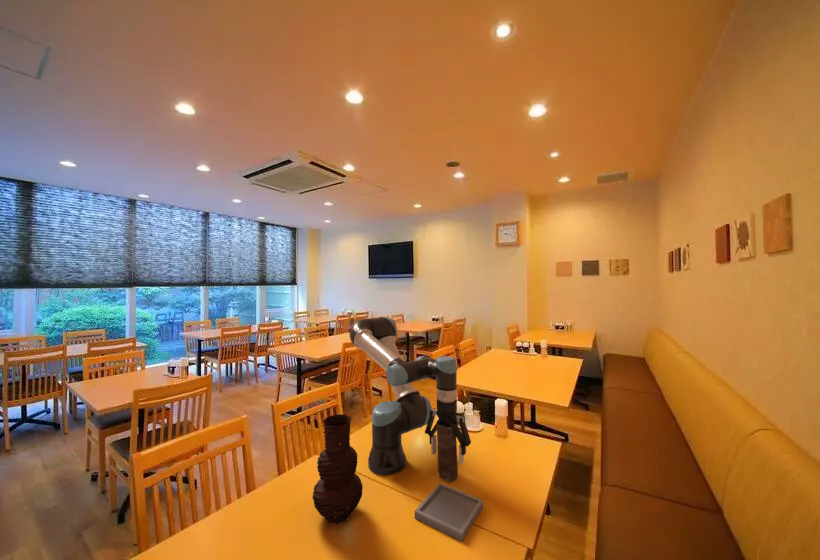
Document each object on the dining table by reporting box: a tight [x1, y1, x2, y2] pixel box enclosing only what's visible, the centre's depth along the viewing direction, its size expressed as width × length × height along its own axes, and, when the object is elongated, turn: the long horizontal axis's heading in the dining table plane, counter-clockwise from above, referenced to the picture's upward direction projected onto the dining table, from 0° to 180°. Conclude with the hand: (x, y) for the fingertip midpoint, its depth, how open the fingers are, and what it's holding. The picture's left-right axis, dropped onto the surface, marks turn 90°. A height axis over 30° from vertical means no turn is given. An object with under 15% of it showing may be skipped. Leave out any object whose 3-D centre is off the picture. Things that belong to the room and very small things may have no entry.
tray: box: [414, 482, 484, 542], centre depth 100 cm, size 16×16×2 cm
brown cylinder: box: [436, 423, 459, 483], centre depth 118 cm, size 8×7×20 cm
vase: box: [311, 413, 364, 525], centre depth 100 cm, size 15×15×30 cm
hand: (447, 457), depth 118 cm, fingers open, 11 cm apart
